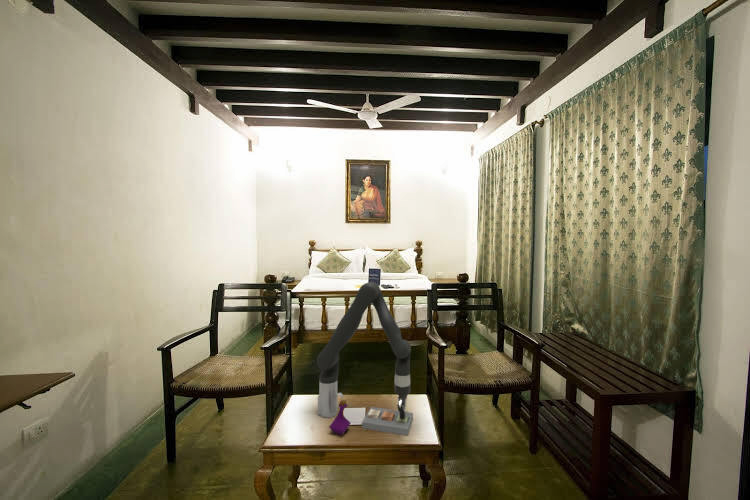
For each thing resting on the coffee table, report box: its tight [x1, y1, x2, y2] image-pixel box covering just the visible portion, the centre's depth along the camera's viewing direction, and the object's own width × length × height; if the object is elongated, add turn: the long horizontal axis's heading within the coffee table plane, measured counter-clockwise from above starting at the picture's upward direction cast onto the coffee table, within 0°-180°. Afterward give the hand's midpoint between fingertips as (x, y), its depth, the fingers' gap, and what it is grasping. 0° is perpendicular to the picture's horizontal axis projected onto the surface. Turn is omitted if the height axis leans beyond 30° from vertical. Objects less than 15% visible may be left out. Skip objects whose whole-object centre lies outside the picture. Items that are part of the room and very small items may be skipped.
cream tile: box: [367, 409, 381, 419], centre depth 163 cm, size 5×5×2 cm
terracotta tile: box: [382, 411, 394, 421], centre depth 161 cm, size 5×5×2 cm
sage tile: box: [396, 415, 408, 423], centre depth 160 cm, size 5×5×2 cm
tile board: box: [361, 406, 414, 437], centre depth 161 cm, size 22×15×3 cm
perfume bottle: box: [328, 392, 352, 436], centre depth 154 cm, size 8×8×18 cm
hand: (402, 418), depth 159 cm, fingers closed
